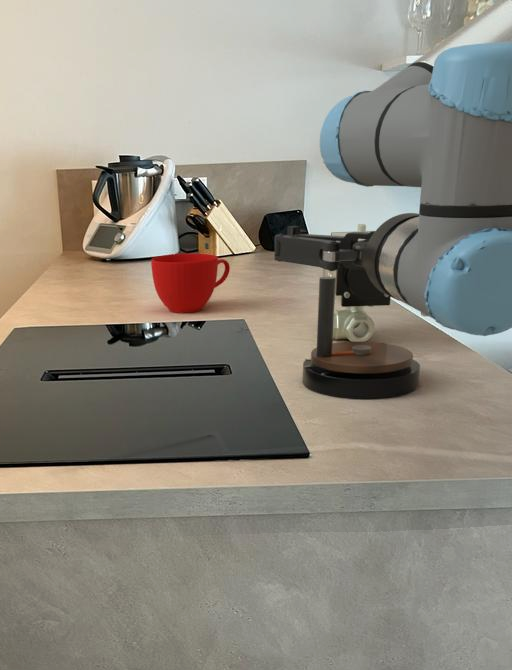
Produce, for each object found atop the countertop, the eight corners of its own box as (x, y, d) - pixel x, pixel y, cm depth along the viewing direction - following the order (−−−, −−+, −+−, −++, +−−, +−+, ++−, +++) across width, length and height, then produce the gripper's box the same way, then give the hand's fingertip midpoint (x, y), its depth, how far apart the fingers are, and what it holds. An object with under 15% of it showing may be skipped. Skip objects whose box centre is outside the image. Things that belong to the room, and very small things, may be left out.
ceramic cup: (247, 307, 155) (247, 255, 152) (174, 319, 148) (173, 264, 144) (211, 298, 166) (210, 249, 162) (141, 309, 158) (139, 258, 154)
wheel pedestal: (422, 371, 108) (424, 352, 107) (412, 403, 96) (414, 381, 95) (313, 364, 114) (314, 346, 113) (290, 394, 101) (291, 373, 100)
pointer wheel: (390, 346, 110) (397, 265, 106) (428, 370, 98) (437, 280, 94) (299, 351, 109) (302, 271, 105) (327, 376, 97) (331, 286, 93)
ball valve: (317, 327, 136) (321, 220, 129) (366, 326, 136) (373, 218, 129) (333, 352, 120) (339, 231, 113) (389, 351, 119) (399, 229, 112)
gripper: (277, 309, 70) (239, 274, 90) (550, 297, 71) (454, 265, 91) (279, 221, 67) (240, 205, 87) (564, 210, 68) (462, 196, 88)
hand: (349, 236), depth 89 cm, fingers open, 13 cm apart
